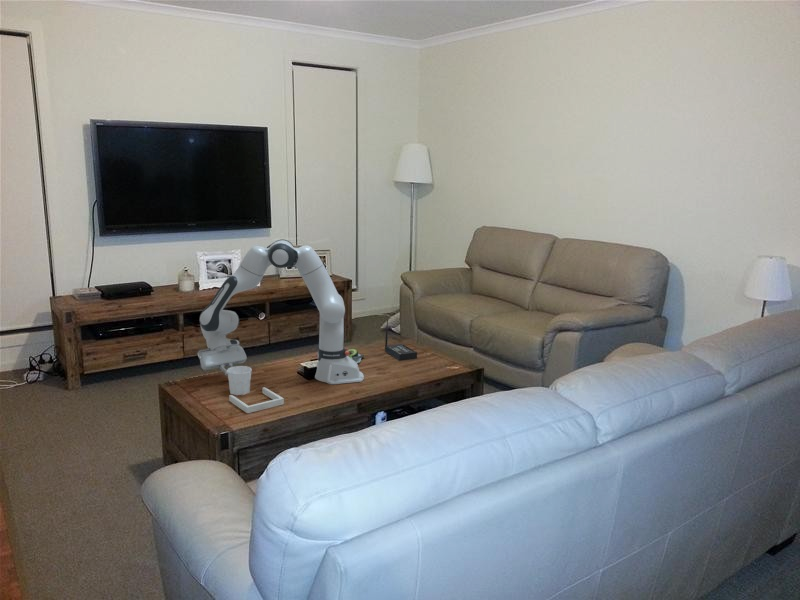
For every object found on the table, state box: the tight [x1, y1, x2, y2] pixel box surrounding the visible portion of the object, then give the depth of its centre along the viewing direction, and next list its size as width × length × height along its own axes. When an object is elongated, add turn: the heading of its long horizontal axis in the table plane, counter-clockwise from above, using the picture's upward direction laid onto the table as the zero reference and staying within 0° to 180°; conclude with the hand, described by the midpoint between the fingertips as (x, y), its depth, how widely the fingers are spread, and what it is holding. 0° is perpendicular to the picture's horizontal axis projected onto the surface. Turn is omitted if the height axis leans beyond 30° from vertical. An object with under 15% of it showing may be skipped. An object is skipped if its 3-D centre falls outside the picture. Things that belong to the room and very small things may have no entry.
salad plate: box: [347, 348, 365, 365], centre depth 310 cm, size 19×18×5 cm
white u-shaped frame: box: [228, 386, 285, 414], centre depth 253 cm, size 15×16×2 cm
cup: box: [226, 365, 253, 397], centre depth 262 cm, size 10×10×10 cm
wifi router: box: [384, 319, 418, 362], centre depth 324 cm, size 20×14×17 cm
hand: (229, 374), depth 269 cm, fingers closed
